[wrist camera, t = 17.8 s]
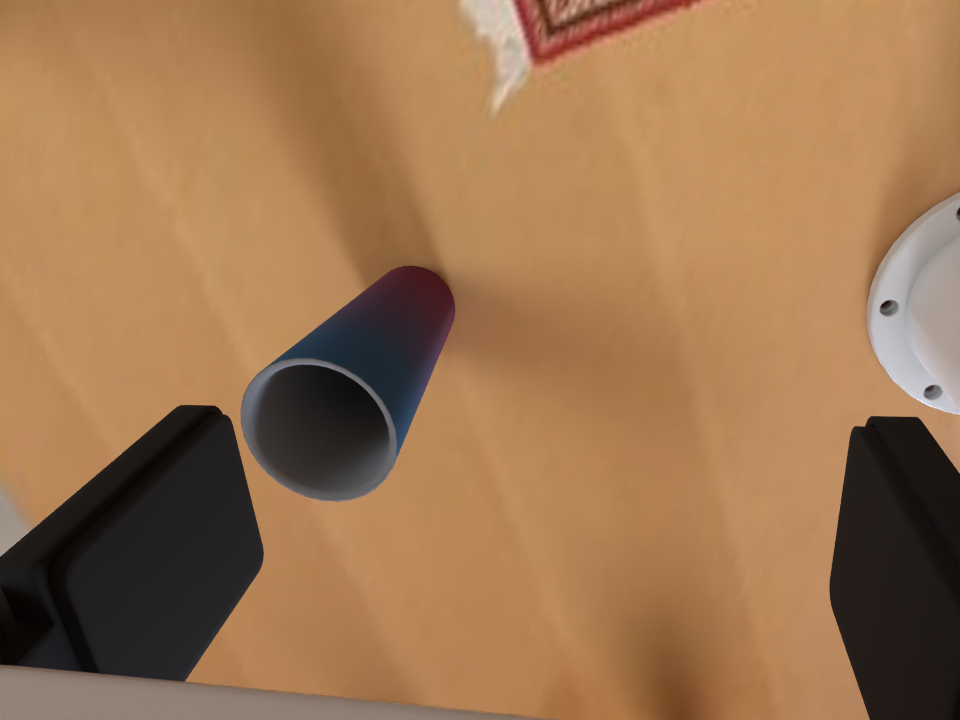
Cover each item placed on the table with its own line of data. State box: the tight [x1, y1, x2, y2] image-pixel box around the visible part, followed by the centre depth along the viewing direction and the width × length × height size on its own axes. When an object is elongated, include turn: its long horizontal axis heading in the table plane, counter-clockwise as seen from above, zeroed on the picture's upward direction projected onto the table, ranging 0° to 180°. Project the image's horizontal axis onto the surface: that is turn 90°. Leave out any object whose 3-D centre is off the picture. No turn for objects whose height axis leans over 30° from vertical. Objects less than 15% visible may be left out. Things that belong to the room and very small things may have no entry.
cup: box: [241, 266, 455, 502], centre depth 37 cm, size 7×7×15 cm
